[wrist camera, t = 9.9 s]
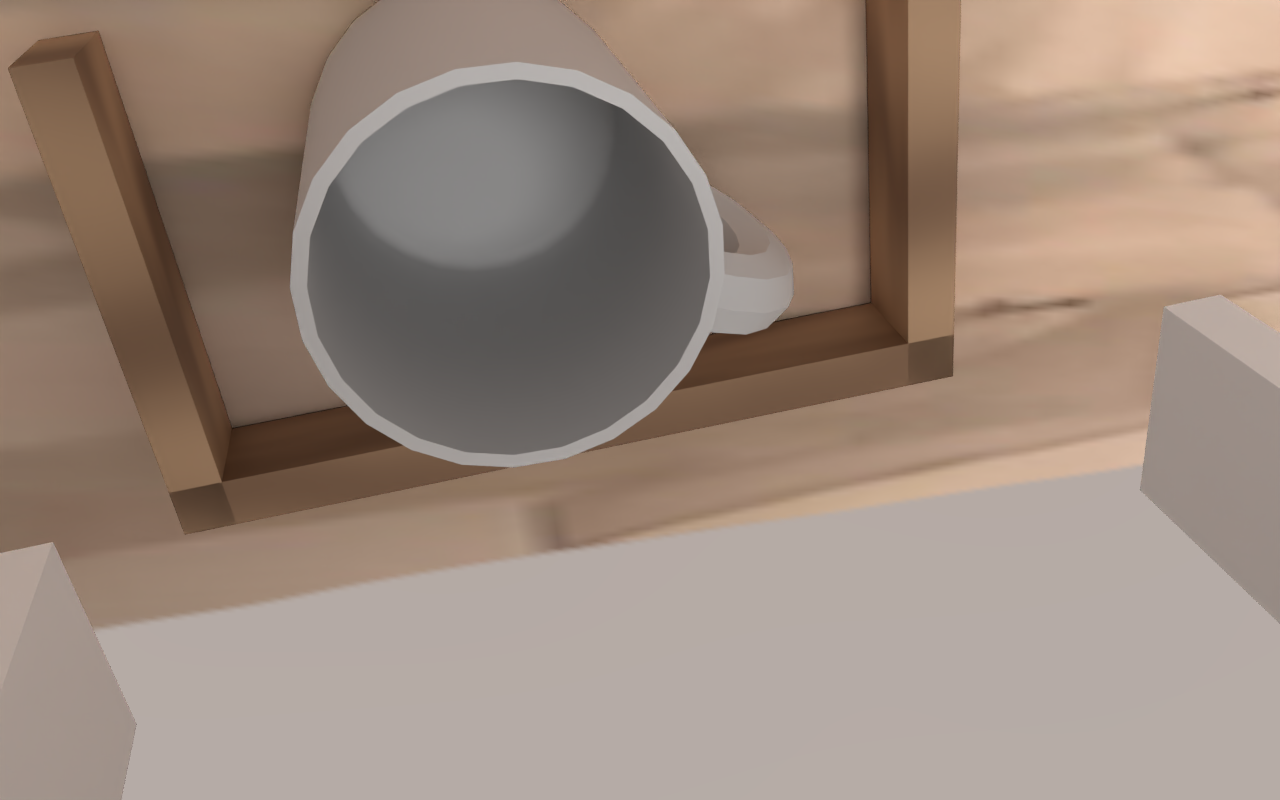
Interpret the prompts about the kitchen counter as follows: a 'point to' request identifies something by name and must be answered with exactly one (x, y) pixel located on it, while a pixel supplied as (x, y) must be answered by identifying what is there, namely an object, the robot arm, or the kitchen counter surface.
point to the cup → (509, 235)
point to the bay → (376, 464)
